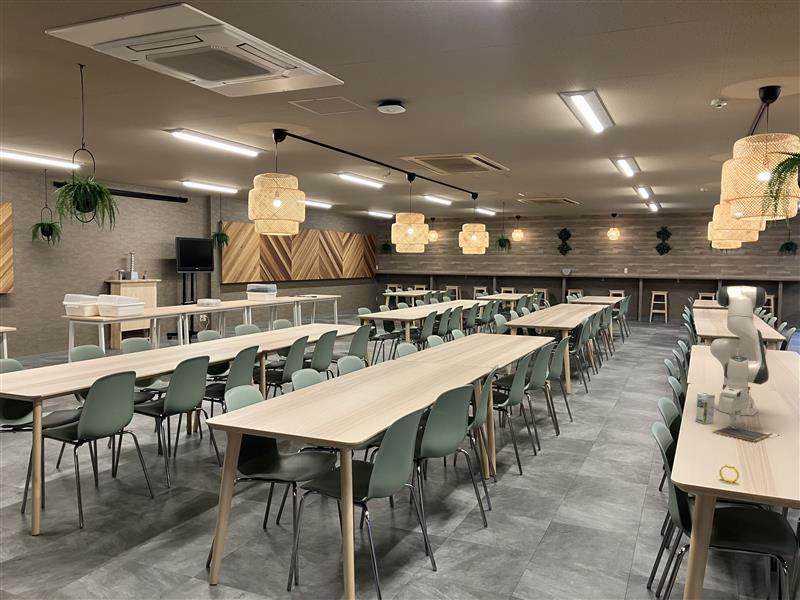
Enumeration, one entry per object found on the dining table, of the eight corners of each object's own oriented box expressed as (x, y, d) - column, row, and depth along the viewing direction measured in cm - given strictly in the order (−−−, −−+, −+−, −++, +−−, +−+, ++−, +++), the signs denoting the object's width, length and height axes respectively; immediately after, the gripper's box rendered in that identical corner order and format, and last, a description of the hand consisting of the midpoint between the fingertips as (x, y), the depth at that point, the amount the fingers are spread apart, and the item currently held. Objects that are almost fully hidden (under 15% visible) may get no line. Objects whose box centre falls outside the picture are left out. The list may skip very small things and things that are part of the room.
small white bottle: (732, 426, 278) (733, 410, 277) (740, 428, 275) (741, 411, 274) (729, 427, 276) (730, 411, 275) (736, 429, 273) (737, 412, 272)
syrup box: (695, 421, 291) (696, 392, 290) (703, 420, 293) (705, 392, 292) (704, 424, 286) (706, 395, 285) (713, 423, 288) (715, 394, 287)
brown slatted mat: (728, 427, 281) (728, 425, 281) (770, 436, 267) (770, 434, 267) (712, 433, 271) (712, 430, 271) (754, 442, 257) (754, 440, 257)
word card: (767, 432, 273) (767, 431, 273) (779, 435, 270) (779, 434, 269) (760, 435, 269) (760, 434, 269) (772, 438, 265) (772, 437, 265)
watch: (738, 482, 209) (740, 466, 208) (736, 485, 207) (739, 468, 206) (719, 477, 212) (722, 461, 212) (718, 479, 210) (720, 463, 210)
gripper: (739, 387, 283) (737, 415, 284) (720, 392, 271) (718, 421, 271) (753, 389, 278) (751, 418, 279) (734, 394, 266) (732, 424, 266)
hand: (735, 419), depth 275 cm, fingers closed on small white bottle, 3 cm apart
